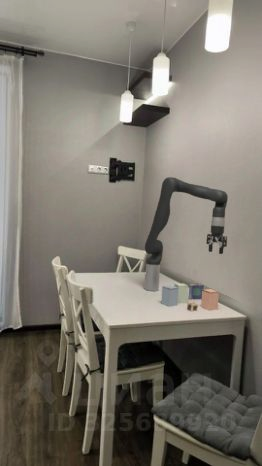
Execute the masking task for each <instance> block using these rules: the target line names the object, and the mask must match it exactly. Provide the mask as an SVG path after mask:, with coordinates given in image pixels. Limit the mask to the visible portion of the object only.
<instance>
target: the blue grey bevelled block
mask: <svg viewBox="0 0 262 466" xmlns="http://www.w3.org/2000/svg"><path fill="white" fill-rule="evenodd" d="M161 288H162V289H161V299H160V300H161V302H160V303H161V305H164V306H166V307H174V306H178V303H177V302H178V289H179V288H178V287H175V286H174V285H172V284H170V285H163V286H162V287H161Z"/></svg>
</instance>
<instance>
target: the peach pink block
mask: <svg viewBox="0 0 262 466" xmlns="http://www.w3.org/2000/svg"><path fill="white" fill-rule="evenodd" d="M219 297H220V291H218V290H215V289H213V288H203V290H202V299H200V300H201V301H200V307H201V308H202V309H205V310H207V311H216V310H218V308H219V307H218V306H219Z"/></svg>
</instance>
